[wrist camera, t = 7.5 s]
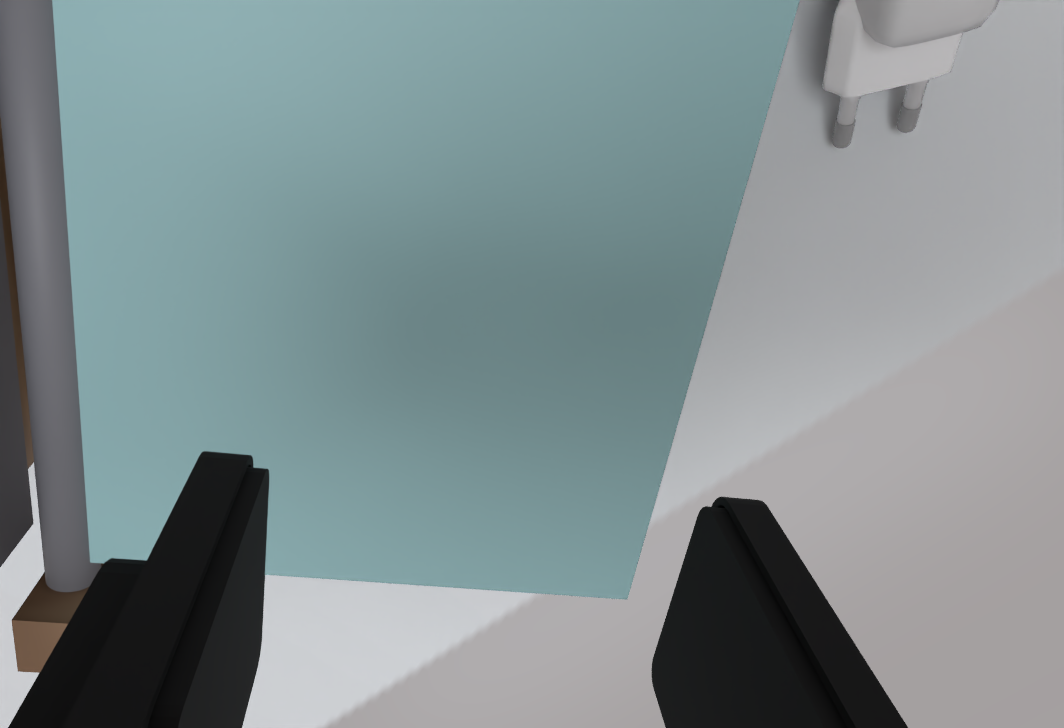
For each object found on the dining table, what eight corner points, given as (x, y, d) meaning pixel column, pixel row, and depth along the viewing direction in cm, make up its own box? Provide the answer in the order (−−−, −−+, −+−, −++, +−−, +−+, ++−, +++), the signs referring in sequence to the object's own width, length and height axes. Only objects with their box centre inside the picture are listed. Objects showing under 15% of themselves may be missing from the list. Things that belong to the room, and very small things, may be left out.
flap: (786, -45, 16) (957, -58, 11) (612, 587, 23) (664, 773, 18) (-242, -265, 13) (-718, -437, 8) (-95, 536, 20) (-294, 742, 15)
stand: (650, -107, 24) (944, -239, 10) (534, 453, 32) (602, 830, 18) (5, -250, 21) (-914, -728, 7) (58, 404, 30) (-314, 805, 15)
